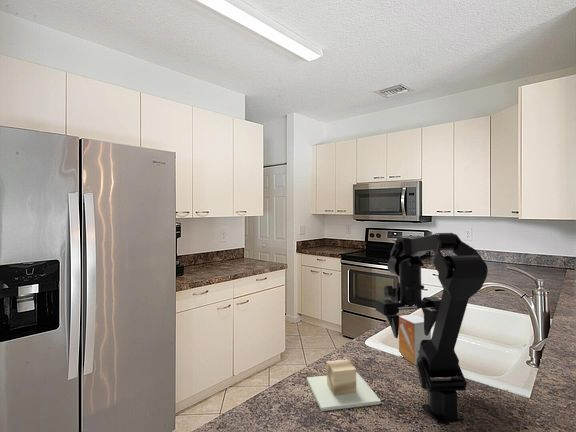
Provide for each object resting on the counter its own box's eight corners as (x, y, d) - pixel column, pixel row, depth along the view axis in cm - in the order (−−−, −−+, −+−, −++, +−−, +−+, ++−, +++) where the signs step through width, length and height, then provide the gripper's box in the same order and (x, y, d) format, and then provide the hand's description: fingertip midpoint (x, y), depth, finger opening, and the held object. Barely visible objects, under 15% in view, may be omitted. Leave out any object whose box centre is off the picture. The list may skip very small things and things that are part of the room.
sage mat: (380, 404, 80) (380, 400, 80) (321, 411, 77) (321, 407, 77) (357, 375, 94) (357, 372, 94) (306, 380, 92) (306, 377, 92)
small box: (398, 355, 108) (397, 315, 108) (414, 352, 109) (414, 313, 110) (415, 365, 100) (414, 323, 100) (432, 362, 102) (431, 320, 102)
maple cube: (356, 392, 83) (356, 369, 83) (333, 395, 82) (333, 371, 82) (348, 381, 89) (347, 359, 89) (326, 383, 88) (326, 361, 88)
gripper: (423, 274, 101) (424, 324, 101) (366, 277, 98) (367, 329, 98) (447, 280, 90) (448, 337, 90) (384, 284, 87) (385, 343, 87)
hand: (411, 336), depth 92 cm, fingers open, 9 cm apart
